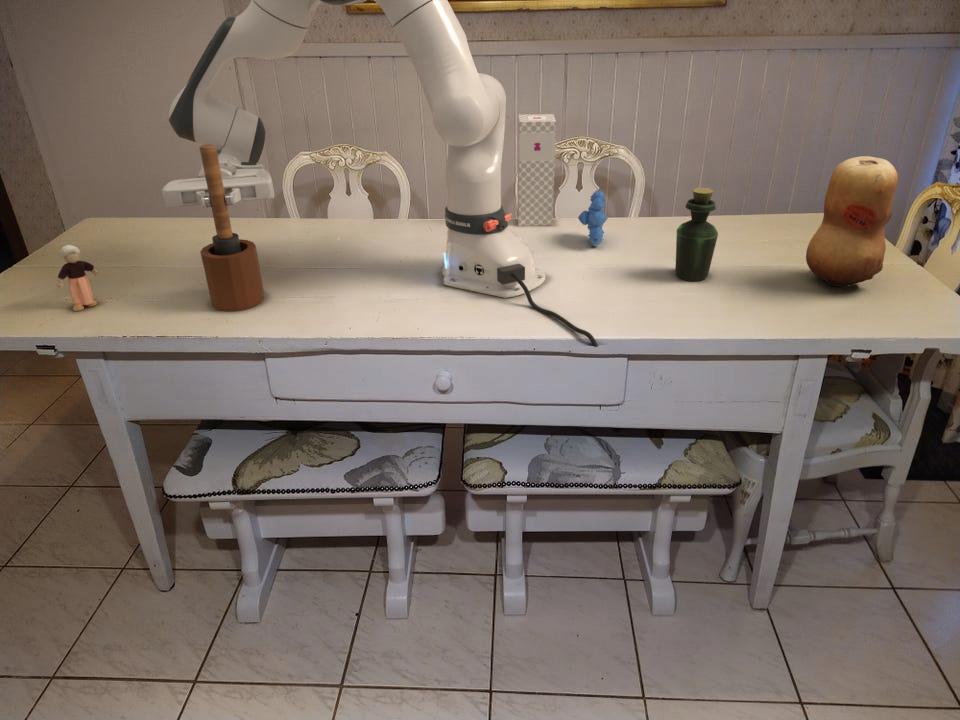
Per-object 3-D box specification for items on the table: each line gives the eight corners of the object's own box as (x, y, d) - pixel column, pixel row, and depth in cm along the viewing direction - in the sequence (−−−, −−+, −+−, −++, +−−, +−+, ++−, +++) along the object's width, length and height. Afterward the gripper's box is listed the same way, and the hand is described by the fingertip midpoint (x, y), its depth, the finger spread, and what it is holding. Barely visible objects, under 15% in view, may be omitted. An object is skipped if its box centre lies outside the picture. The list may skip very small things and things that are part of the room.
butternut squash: (801, 292, 144) (829, 165, 131) (800, 267, 155) (825, 148, 142) (879, 301, 139) (915, 171, 127) (872, 275, 150) (905, 152, 138)
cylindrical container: (274, 298, 145) (265, 246, 140) (231, 316, 139) (219, 262, 133) (245, 286, 151) (235, 235, 146) (202, 302, 145) (190, 250, 139)
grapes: (577, 233, 175) (579, 184, 169) (605, 234, 174) (608, 184, 168) (576, 251, 165) (578, 199, 159) (606, 251, 164) (610, 199, 158)
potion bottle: (718, 274, 152) (731, 189, 143) (699, 286, 147) (712, 199, 138) (683, 264, 157) (694, 182, 148) (663, 276, 152) (673, 191, 143)
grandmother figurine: (74, 314, 140) (54, 253, 134) (63, 310, 142) (42, 249, 136) (110, 300, 146) (93, 240, 140) (99, 296, 148) (81, 236, 142)
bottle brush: (249, 270, 142) (226, 145, 130) (228, 277, 139) (202, 150, 127) (235, 264, 145) (211, 141, 133) (214, 271, 142) (187, 146, 130)
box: (517, 214, 188) (518, 114, 176) (550, 214, 188) (553, 114, 176) (518, 225, 181) (519, 121, 168) (552, 225, 181) (556, 121, 168)
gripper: (162, 170, 142) (154, 190, 130) (270, 162, 147) (271, 180, 135) (169, 202, 145) (162, 224, 134) (275, 193, 150) (276, 213, 138)
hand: (218, 202), depth 134 cm, fingers closed on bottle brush, 3 cm apart
